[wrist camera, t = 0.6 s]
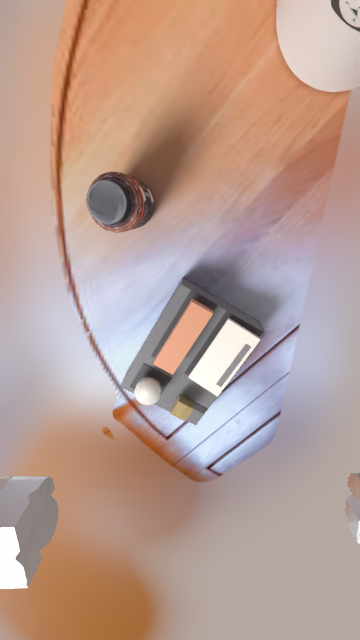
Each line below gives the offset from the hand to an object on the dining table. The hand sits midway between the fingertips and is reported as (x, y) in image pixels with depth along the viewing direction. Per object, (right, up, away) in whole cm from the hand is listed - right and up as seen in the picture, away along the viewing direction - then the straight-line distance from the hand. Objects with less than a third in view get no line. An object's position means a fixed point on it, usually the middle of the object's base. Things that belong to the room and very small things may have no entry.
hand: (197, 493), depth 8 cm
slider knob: (0, -7, +36) cm, 37 cm away
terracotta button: (0, +3, +31) cm, 31 cm away
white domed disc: (-5, -5, +34) cm, 35 cm away
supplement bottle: (-7, +20, +31) cm, 37 cm away
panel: (+1, 0, +37) cm, 37 cm away
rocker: (+5, 0, +32) cm, 32 cm away
